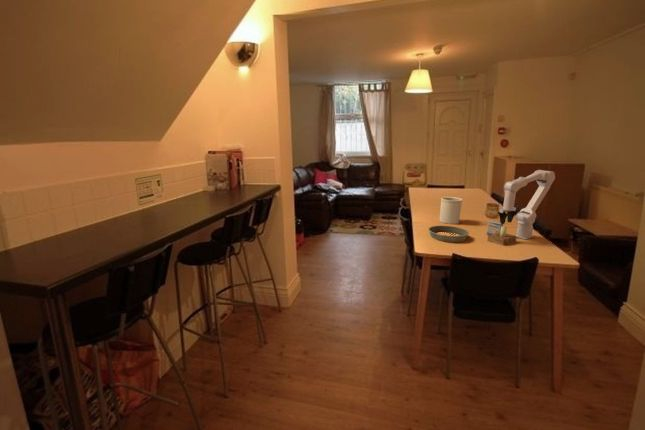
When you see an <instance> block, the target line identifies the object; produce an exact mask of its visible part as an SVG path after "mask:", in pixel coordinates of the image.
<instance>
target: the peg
mask: <svg viewBox="0 0 645 430" xmlns="http://www.w3.org/2000/svg"><path fill="white" fill-rule="evenodd" d="M506 233H507V227H506V226H503V227H501V231H500V236H501V237H505V235H506Z"/></svg>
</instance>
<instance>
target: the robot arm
mask: <svg viewBox="0 0 645 430" xmlns="http://www.w3.org/2000/svg"><path fill="white" fill-rule="evenodd" d="M555 175H556V174H555V171H552V170H551V171H550V170H542V169H537V170H535V171H534V172H533V173H531V174H529V175H527V176H526V177H525V176H524V177H523V176H519V177H518V178H516V179H512V181H507V182H505V183H504V185H503V190H504V200H503V204H502V205H503V206H502V208H500V209H499V211H498V212H497V214H498V217H499V223H501V224H503V225H505V224H506V221H507V223H512V221H513V219H514V218H515V220H516V221H517V229H516V234H513V235H514V236H517V238H519V239H523V240H528V239H531V237H532V238H534V236H533V231H534V226H533V224H534V223H535V221H536V218H537V213H536V210H537V209H538V207H539V205H540V204H541V203H542V201H543V200H544V198H545V197H546V194H547V193H548V191H549V190H550V188H551V186H552V184H553V183H554V181H555V179H556V176H555ZM534 181H536V183H537V185H538V187H537V189H536V190H535V193H534V194H533V196H532V197H531V199H529V202H528V204H527V205H526V207H524V208H521V209H520V211H519V212H517V211H516V210H517V207H514V206H515V200H516V194H517V192H518V191H519V190H520V189H521V188H524V187H526V186H527V185H528V183H530V182H534Z"/></svg>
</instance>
